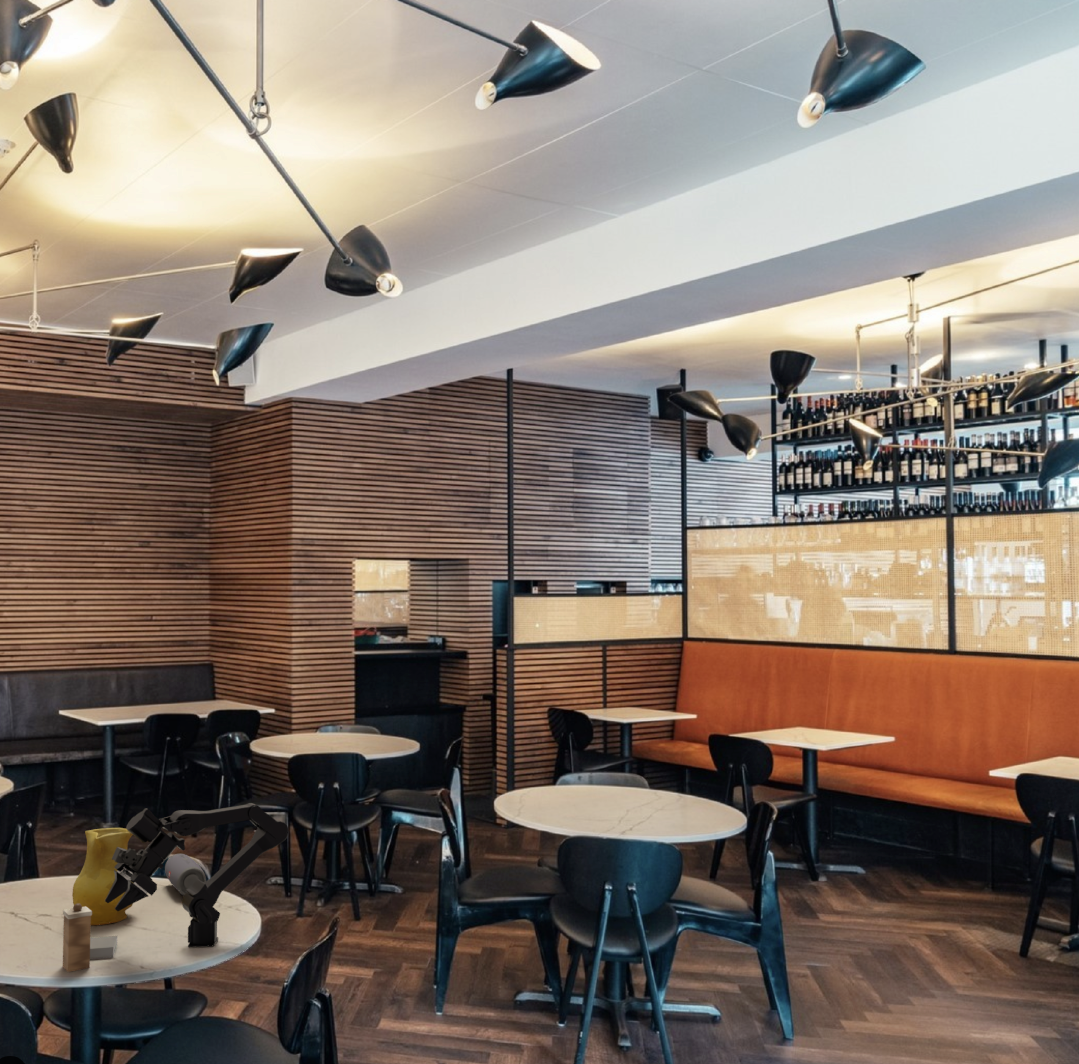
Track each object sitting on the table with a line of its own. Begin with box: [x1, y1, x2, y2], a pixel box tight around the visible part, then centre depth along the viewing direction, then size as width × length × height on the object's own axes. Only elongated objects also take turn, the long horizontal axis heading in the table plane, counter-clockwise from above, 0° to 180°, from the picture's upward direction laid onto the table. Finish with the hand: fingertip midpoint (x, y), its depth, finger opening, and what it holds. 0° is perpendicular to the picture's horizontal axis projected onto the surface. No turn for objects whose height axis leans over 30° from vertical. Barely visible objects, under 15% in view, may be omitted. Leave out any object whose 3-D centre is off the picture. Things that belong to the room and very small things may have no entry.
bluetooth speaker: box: [164, 853, 207, 897], centre depth 339 cm, size 23×9×10 cm, turn 28°
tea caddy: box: [62, 903, 92, 973], centre depth 268 cm, size 5×5×15 cm
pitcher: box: [71, 827, 134, 926], centre depth 311 cm, size 17×18×25 cm
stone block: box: [90, 935, 119, 960], centre depth 279 cm, size 10×10×3 cm
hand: (111, 906), depth 274 cm, fingers open, 9 cm apart
